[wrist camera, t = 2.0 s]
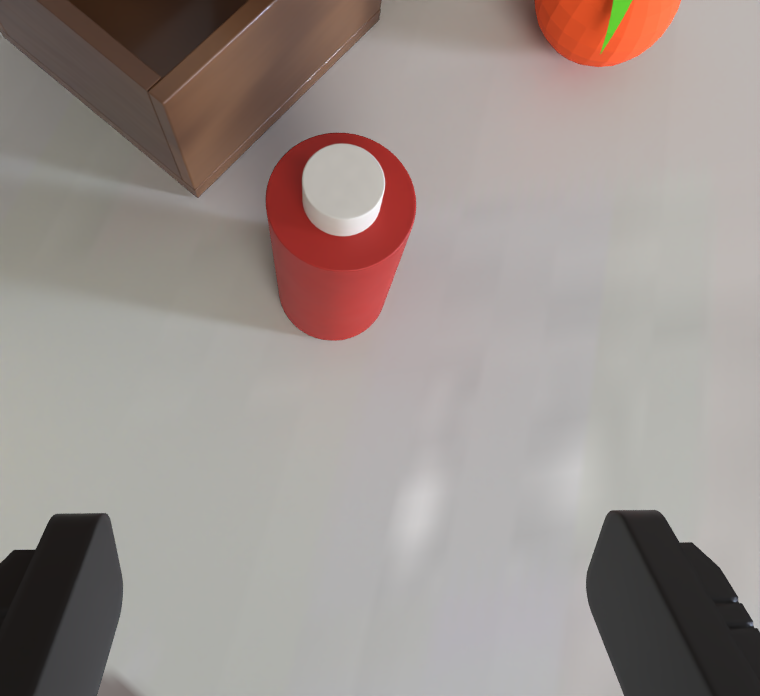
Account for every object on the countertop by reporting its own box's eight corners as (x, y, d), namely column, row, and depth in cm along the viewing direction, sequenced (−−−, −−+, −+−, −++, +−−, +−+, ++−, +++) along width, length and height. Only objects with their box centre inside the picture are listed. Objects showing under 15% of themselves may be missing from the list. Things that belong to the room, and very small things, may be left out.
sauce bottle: (338, 362, 31) (353, 289, 20) (256, 293, 31) (228, 185, 21) (406, 284, 32) (454, 176, 21) (326, 218, 32) (334, 79, 22)
